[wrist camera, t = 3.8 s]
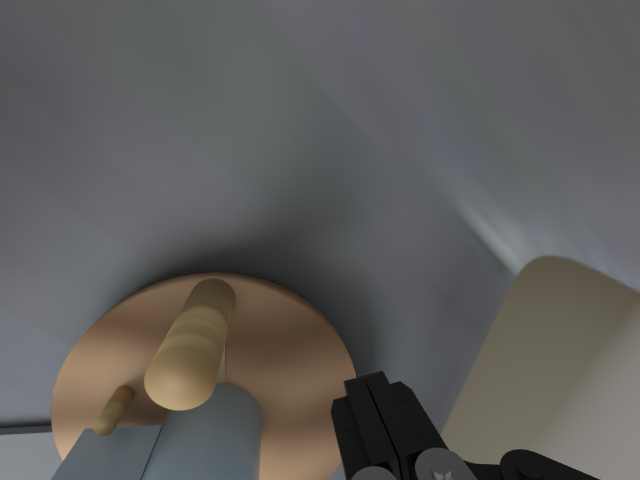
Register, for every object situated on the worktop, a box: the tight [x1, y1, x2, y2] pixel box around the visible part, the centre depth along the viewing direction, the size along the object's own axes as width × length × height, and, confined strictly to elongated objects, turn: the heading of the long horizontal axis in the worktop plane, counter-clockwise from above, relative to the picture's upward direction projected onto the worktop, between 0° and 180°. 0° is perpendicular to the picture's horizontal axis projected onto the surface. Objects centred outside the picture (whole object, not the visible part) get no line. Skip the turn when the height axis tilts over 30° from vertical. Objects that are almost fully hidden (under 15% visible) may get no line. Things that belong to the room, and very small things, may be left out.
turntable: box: [51, 272, 357, 480], centre depth 18 cm, size 18×18×8 cm
